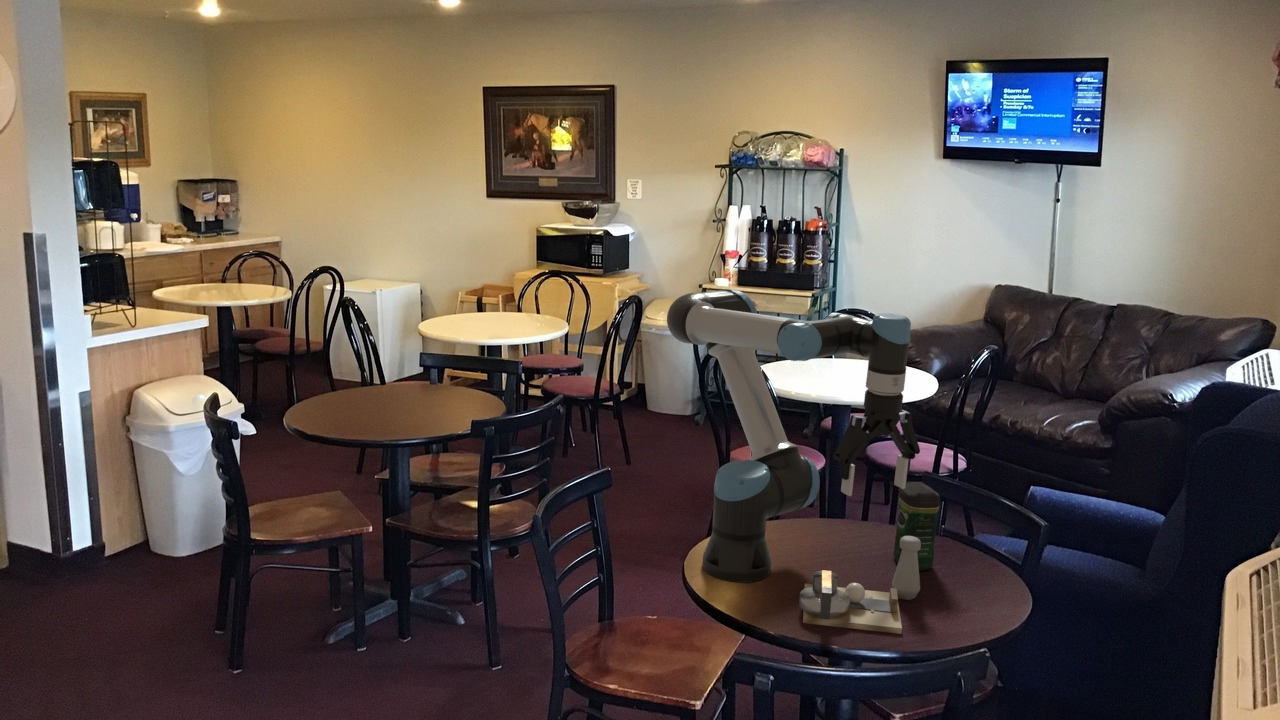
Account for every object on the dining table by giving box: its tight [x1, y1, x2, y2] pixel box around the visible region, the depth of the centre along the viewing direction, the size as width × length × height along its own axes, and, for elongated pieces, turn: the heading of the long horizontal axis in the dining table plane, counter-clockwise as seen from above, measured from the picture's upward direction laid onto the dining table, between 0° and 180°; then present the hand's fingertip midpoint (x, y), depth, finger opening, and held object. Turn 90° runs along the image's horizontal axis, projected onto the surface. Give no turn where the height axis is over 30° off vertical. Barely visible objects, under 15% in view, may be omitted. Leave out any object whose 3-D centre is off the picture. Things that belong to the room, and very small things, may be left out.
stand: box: [802, 583, 903, 635], centre depth 212 cm, size 19×16×4 cm
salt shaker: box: [891, 536, 921, 601], centre depth 219 cm, size 6×6×13 cm
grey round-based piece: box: [798, 569, 850, 620], centre depth 208 cm, size 10×16×7 cm, turn 170°
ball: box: [845, 582, 866, 603], centre depth 213 cm, size 4×4×4 cm
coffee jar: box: [892, 481, 941, 572], centre depth 235 cm, size 10×8×19 cm
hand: (873, 490), depth 215 cm, fingers open, 13 cm apart
